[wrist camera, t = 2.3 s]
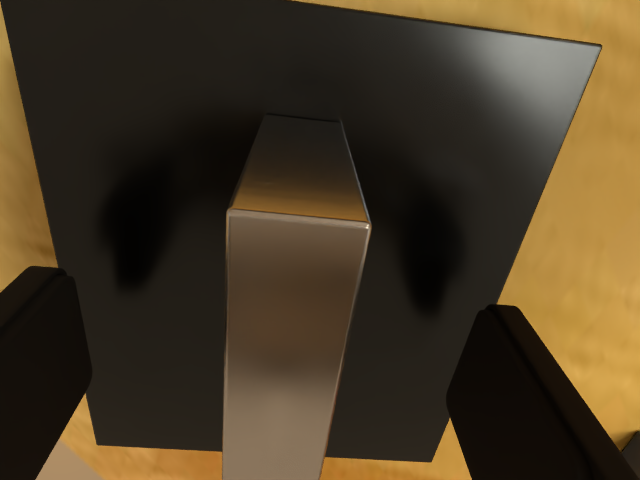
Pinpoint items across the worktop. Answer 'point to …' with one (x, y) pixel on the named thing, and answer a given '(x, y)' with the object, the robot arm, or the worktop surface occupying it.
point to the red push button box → (633, 454)
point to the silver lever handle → (289, 297)
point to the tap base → (225, 170)
